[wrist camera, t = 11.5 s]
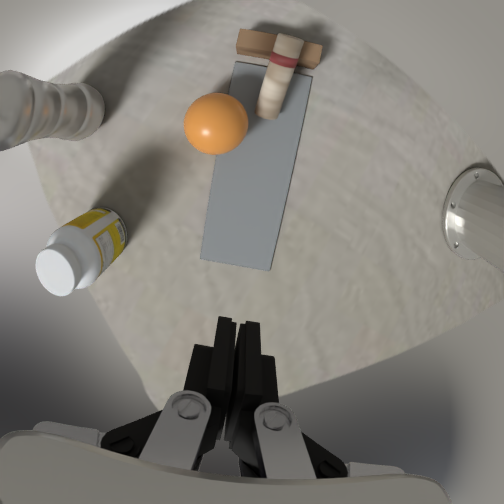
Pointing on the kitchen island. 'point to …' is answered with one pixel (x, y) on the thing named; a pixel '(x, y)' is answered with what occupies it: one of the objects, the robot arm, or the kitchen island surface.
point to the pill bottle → (81, 251)
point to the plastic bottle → (46, 110)
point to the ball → (216, 123)
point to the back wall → (264, 44)
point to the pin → (278, 75)
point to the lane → (254, 176)
